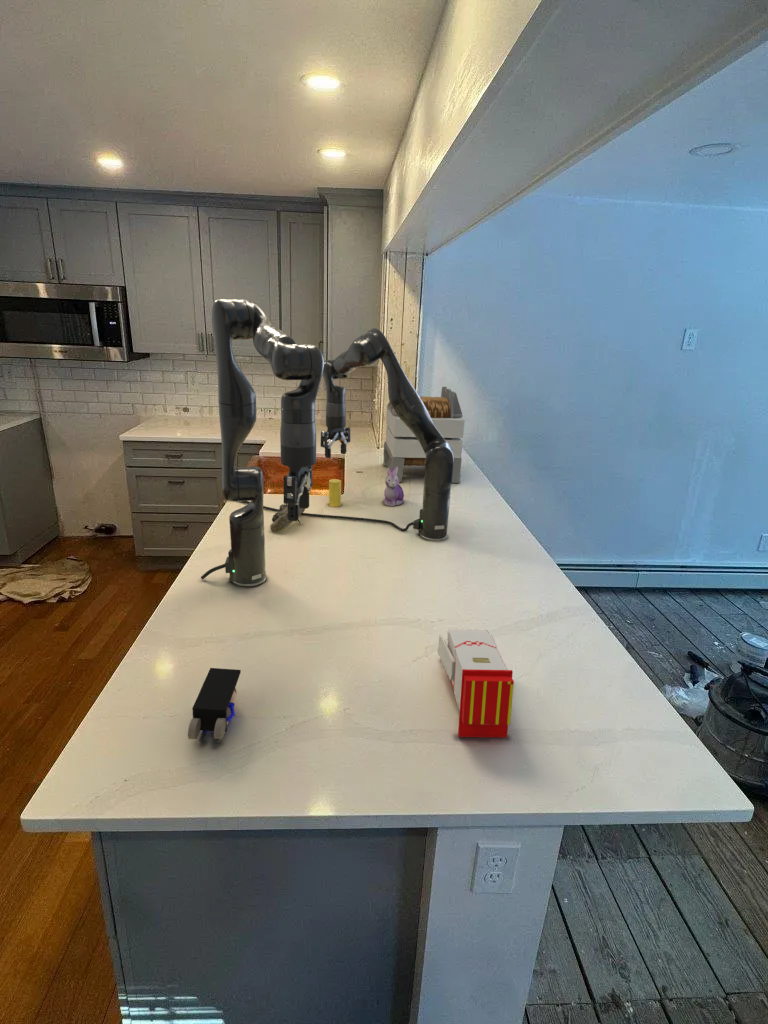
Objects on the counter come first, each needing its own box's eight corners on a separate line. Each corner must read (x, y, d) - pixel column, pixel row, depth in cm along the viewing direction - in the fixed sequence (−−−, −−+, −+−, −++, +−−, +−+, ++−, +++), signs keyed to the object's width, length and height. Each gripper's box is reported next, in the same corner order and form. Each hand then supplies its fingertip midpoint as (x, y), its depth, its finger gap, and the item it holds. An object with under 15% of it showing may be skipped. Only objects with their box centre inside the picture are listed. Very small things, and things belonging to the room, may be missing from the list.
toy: (488, 613, 130) (523, 677, 101) (484, 667, 133) (517, 744, 104) (435, 612, 130) (455, 676, 101) (432, 666, 133) (451, 743, 103)
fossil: (276, 500, 214) (305, 479, 209) (292, 519, 217) (322, 499, 212) (259, 527, 195) (291, 505, 190) (277, 547, 198) (310, 526, 193)
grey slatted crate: (382, 463, 289) (386, 382, 275) (445, 464, 293) (451, 384, 279) (390, 482, 257) (394, 392, 243) (460, 483, 261) (468, 394, 247)
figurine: (388, 507, 225) (390, 471, 220) (377, 500, 233) (378, 464, 228) (409, 505, 229) (411, 469, 224) (397, 497, 238) (399, 462, 232)
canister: (326, 505, 225) (327, 481, 221) (330, 502, 229) (331, 478, 226) (338, 507, 223) (338, 483, 220) (342, 503, 228) (342, 479, 224)
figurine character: (226, 757, 100) (244, 694, 114) (223, 726, 97) (241, 665, 110) (188, 756, 100) (210, 694, 114) (183, 725, 97) (207, 664, 110)
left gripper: (306, 451, 113) (306, 526, 118) (323, 436, 126) (323, 505, 132) (270, 448, 114) (272, 523, 119) (291, 434, 127) (291, 502, 133)
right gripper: (341, 410, 222) (341, 451, 227) (315, 415, 211) (315, 457, 217) (355, 413, 217) (355, 454, 223) (329, 417, 207) (330, 460, 212)
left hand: (299, 513), depth 125 cm, fingers open, 8 cm apart
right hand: (335, 455), depth 220 cm, fingers open, 8 cm apart
